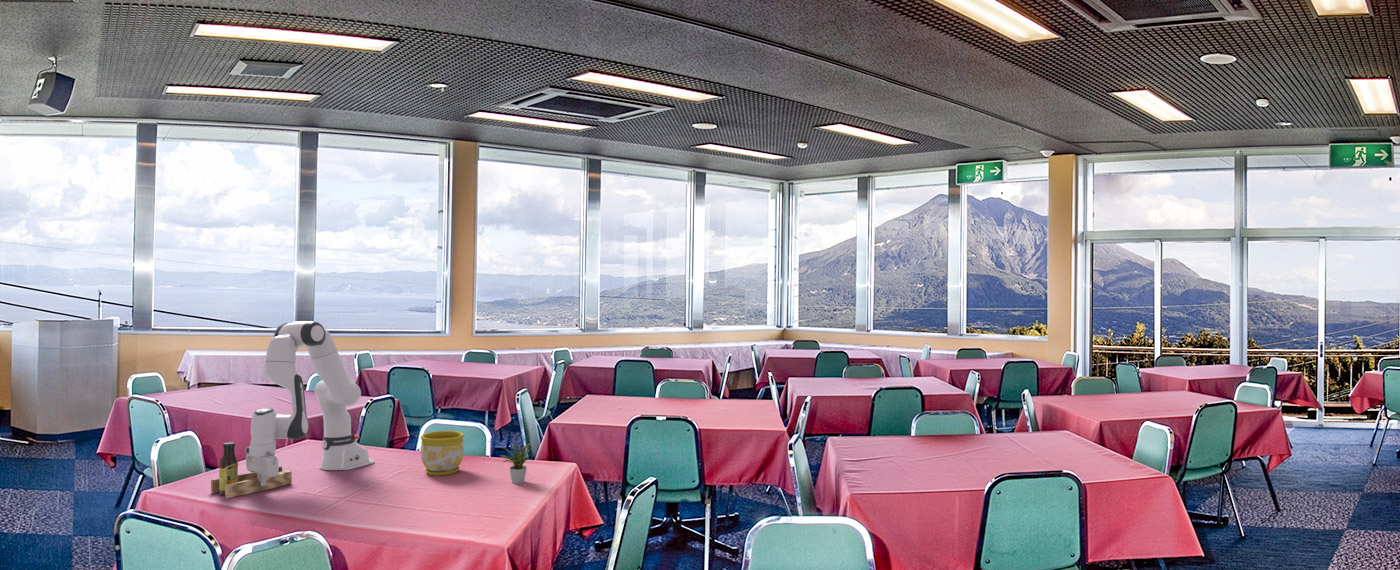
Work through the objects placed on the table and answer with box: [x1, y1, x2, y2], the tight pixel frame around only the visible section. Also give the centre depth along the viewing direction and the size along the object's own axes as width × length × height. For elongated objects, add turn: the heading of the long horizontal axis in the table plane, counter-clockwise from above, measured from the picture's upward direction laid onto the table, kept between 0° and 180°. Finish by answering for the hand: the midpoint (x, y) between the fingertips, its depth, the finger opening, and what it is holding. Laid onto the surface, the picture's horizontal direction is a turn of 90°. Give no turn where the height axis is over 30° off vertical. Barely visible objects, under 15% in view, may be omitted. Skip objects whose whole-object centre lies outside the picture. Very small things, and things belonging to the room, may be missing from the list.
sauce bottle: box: [218, 441, 239, 496], centre depth 313 cm, size 6×6×20 cm
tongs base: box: [210, 466, 283, 493], centre depth 321 cm, size 26×8×7 cm, turn 142°
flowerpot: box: [420, 430, 465, 477], centre depth 348 cm, size 18×18×16 cm
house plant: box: [499, 443, 533, 485], centre depth 335 cm, size 14×14×16 cm
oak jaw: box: [224, 469, 293, 499], centre depth 317 cm, size 26×4×5 cm, turn 146°
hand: (262, 485), depth 314 cm, fingers closed
